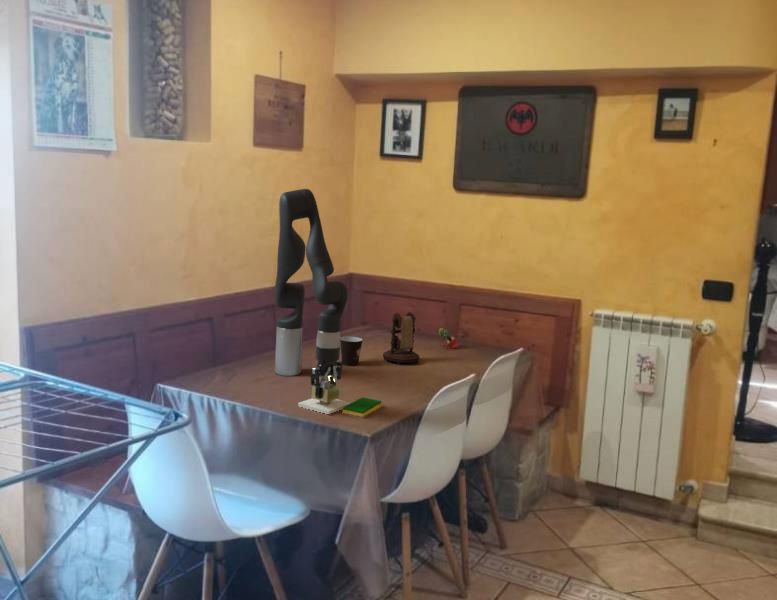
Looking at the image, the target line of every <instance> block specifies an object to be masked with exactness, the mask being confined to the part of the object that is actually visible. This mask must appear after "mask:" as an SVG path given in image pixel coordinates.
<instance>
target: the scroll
mask: <svg viewBox="0 0 777 600" xmlns="http://www.w3.org/2000/svg"><path fill="white" fill-rule="evenodd" d="M391 321H392V326H391V330H390V334H391V338H390V340H391V341H390V347H391V348H390V349H388V350H387V351H385V352H384V351H383V354H382V358H383V360H388V361H392V362H397V365H398V366H399V365H401V363H414V362H416V363H417V364H418V363H419V362H420V354H418V353H417V352H414V351H413V350H414V347H413V346H414V342H415V340H414V337H415V336H414V334H415V332H416V329H415V321H416V317H415V315H414V313H413V312H411V311H409V312H407V313H406V315H404V316H401V314H400V313H399V312H395V313H394V314H393V317H392V319H391ZM396 334H400V337H399V336H398V335H396Z"/></svg>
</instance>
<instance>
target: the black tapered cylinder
mask: <svg viewBox="0 0 777 600" xmlns="http://www.w3.org/2000/svg"><path fill="white" fill-rule="evenodd" d="M363 341H364V340H363V338H361V337H357V336H342V337H341V339H340V355H341V357H340V358H341V361H342V362H343V365H342V366H347V367H357V366H359V363H360V362H359V361H360V358H361V357H360V356H361V350H362V345H363Z"/></svg>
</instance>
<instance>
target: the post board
mask: <svg viewBox="0 0 777 600" xmlns="http://www.w3.org/2000/svg"><path fill="white" fill-rule="evenodd" d="M323 388H326V389H328V388H330V381H329V380H326V381H324V384H323ZM351 403H352V402H349V401H346V400H341V399H339V398H338V399H336V400H333V401H330V402H323V401H320V400H316V399H312V397H311V398H308V399H306V400H304V401H300V402H298V403H297V407H298V406H299V407H298V408H301V407H303V408H302V409H305V408H306V409H305V410H308V409H310V410H309V411H312V410H314V411H313V412H315V411H317V412H316V413H319V412H321V413H320V414H322V413H325V414H324V415H326V414H330V413H333V412H336V411H338V412H340V411H339V410H341V411H343V410H342V409H343V407H345V406H347V405H349V404H351ZM336 413H337V412H336ZM333 414H334V413H333ZM330 415H331V414H330Z"/></svg>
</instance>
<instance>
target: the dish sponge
mask: <svg viewBox="0 0 777 600" xmlns="http://www.w3.org/2000/svg"><path fill="white" fill-rule="evenodd" d="M350 403H351V404H349V405H347V406H345V407H343V410H342V414H343V413H348V414H353V415H359V416H364V415H366V414H367V413H369V412H371V411H373V410H375V409H377V408H379V407H380V408H382V403H383V402H382V401H381V400H378V399H373V398H369V397H365V396H363V397H360V398H358V399H356V400H355V401H352V402H350ZM380 408H379V409H380ZM377 410H378V409H377ZM375 411H376V410H375Z"/></svg>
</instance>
